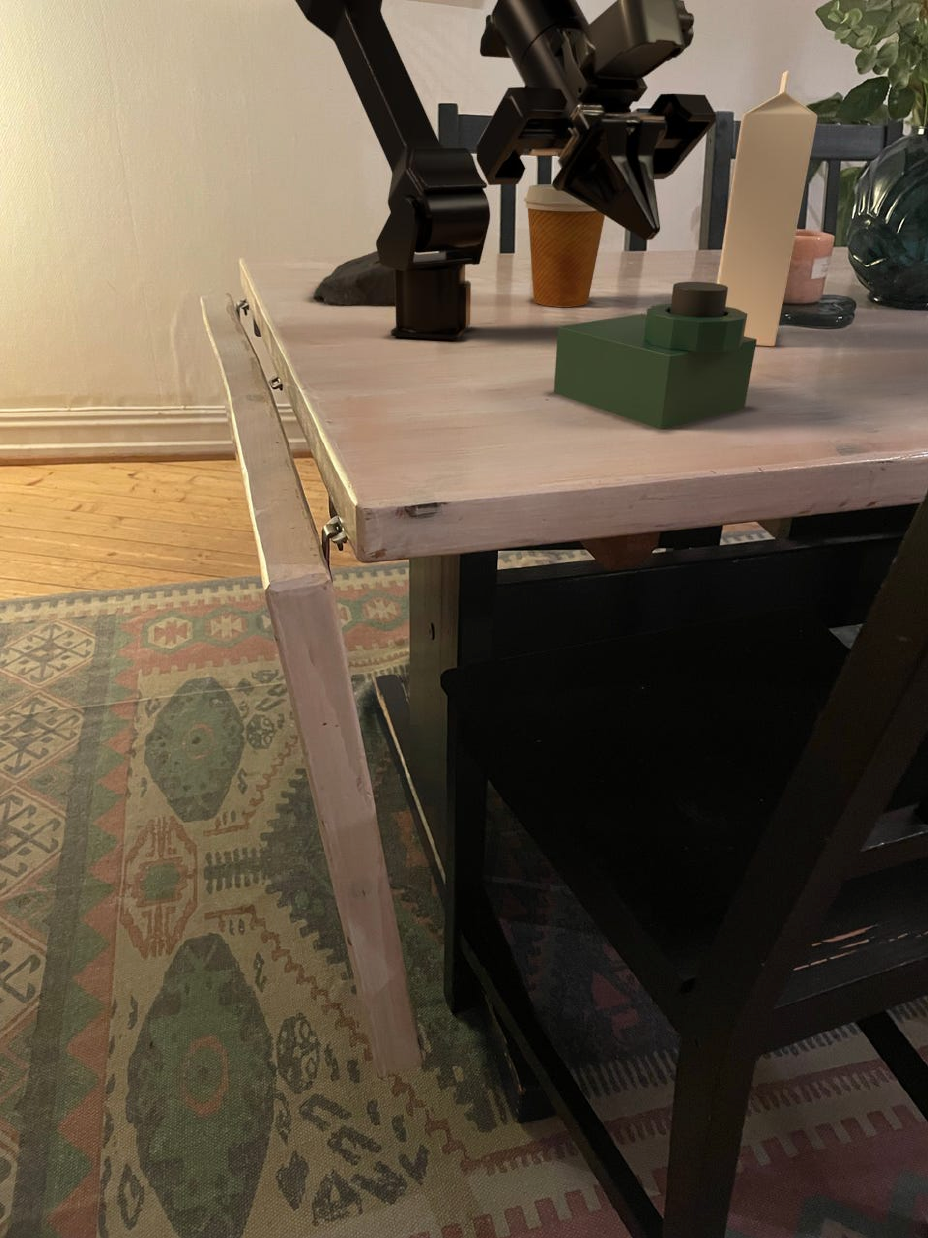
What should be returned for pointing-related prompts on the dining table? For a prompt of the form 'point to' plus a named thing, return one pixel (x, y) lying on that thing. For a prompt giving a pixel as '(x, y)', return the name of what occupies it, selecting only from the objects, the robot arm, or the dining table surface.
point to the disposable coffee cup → (562, 246)
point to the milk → (765, 210)
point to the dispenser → (657, 365)
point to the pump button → (698, 299)
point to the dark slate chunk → (359, 283)
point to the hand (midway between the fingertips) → (652, 235)
